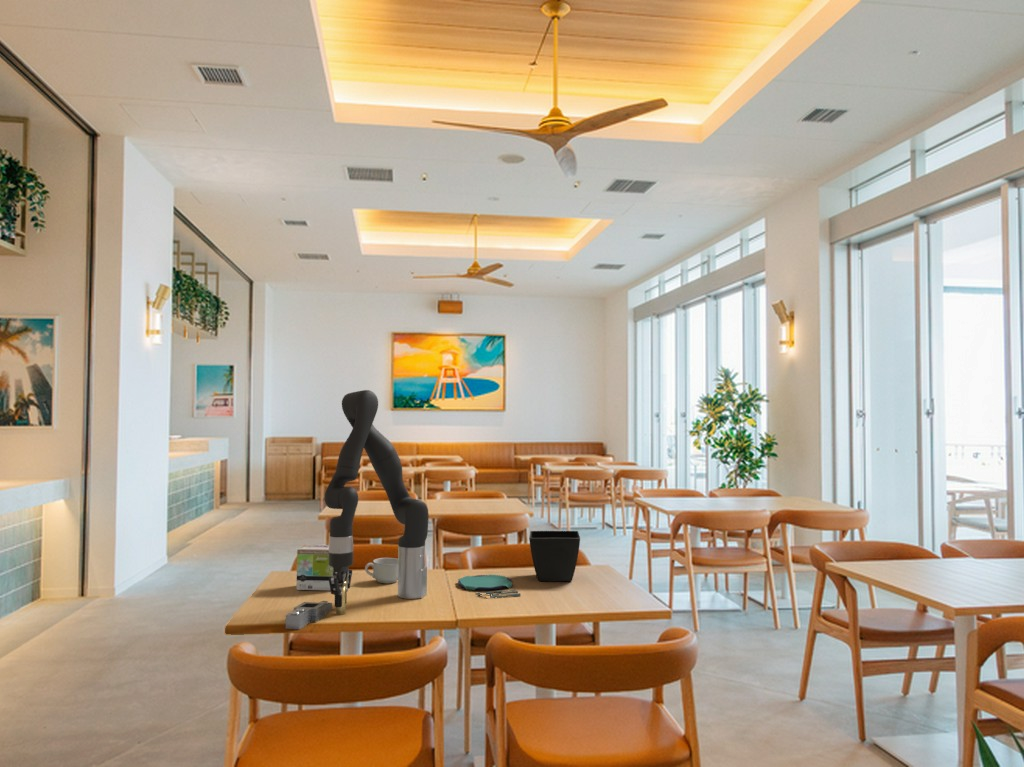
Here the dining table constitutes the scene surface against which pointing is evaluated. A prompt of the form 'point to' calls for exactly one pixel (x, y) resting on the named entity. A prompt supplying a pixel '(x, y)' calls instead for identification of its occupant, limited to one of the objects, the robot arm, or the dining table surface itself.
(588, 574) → the dining table surface
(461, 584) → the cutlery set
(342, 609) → the pin
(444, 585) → the dining table surface
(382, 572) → the teacup
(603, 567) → the dining table surface
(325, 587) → the tea box
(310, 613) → the grey studded bar
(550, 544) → the flower pot
